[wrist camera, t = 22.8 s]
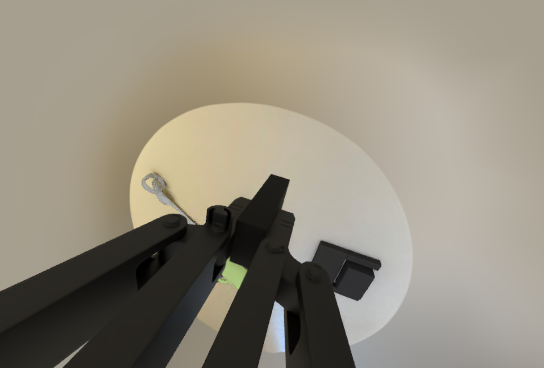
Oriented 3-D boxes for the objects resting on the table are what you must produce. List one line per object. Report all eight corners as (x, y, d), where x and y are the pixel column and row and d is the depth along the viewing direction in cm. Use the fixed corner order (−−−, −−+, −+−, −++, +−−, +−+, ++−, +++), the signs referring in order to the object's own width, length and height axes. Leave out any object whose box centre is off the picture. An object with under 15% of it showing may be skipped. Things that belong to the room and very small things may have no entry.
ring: (157, 170, 51) (141, 176, 47) (170, 185, 52) (155, 192, 48) (151, 175, 53) (135, 182, 48) (164, 190, 53) (149, 198, 49)
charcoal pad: (372, 267, 46) (375, 277, 44) (358, 289, 50) (360, 299, 47) (347, 258, 47) (348, 267, 45) (335, 280, 51) (335, 290, 48)
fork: (206, 232, 59) (201, 238, 56) (150, 182, 54) (143, 187, 51) (212, 228, 58) (207, 234, 55) (156, 177, 52) (148, 181, 50)
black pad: (305, 276, 53) (304, 281, 51) (321, 240, 47) (320, 244, 46) (357, 296, 51) (358, 301, 49) (379, 260, 45) (381, 265, 44)
